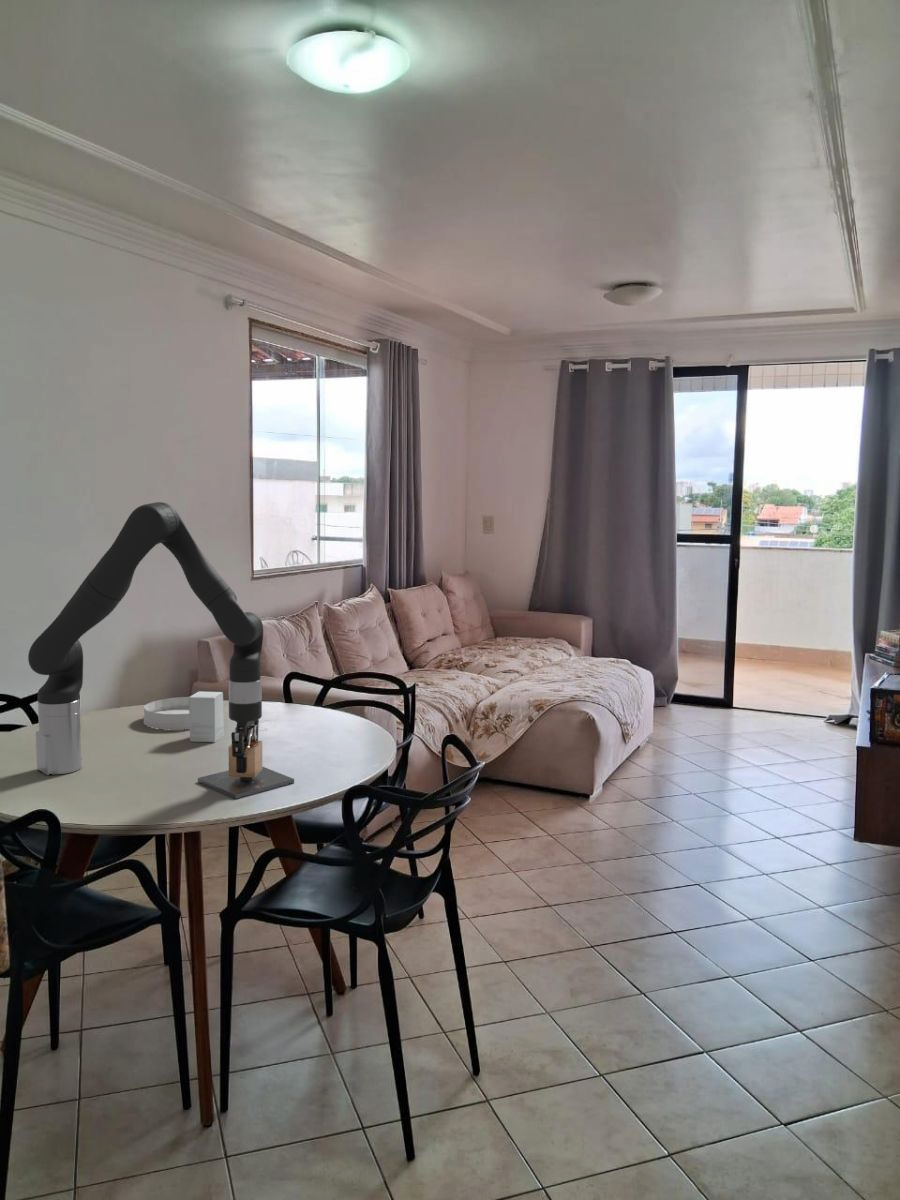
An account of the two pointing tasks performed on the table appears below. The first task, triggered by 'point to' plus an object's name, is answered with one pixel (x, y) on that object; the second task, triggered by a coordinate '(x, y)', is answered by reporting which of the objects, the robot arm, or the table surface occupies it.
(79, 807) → the table surface
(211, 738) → the supplement box
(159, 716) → the dish
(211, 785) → the grey square plate
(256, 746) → the wooden cubby box
